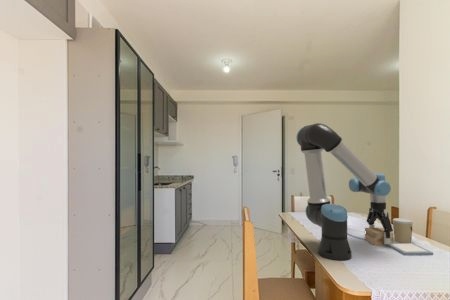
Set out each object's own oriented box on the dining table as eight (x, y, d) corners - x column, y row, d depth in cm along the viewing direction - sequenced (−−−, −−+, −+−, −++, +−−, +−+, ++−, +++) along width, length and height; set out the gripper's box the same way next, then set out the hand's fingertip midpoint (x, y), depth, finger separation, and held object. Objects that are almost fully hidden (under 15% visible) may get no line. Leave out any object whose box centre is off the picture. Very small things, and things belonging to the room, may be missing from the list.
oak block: (375, 246, 142) (374, 232, 142) (365, 240, 152) (364, 227, 152) (393, 245, 142) (393, 232, 142) (382, 239, 152) (382, 227, 152)
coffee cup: (416, 245, 142) (416, 222, 143) (397, 243, 144) (396, 221, 144) (408, 239, 151) (407, 218, 152) (390, 238, 153) (389, 217, 154)
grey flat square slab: (404, 255, 128) (404, 252, 128) (386, 245, 142) (386, 243, 142) (433, 255, 128) (433, 252, 128) (412, 245, 142) (412, 242, 142)
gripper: (400, 205, 135) (401, 247, 134) (371, 197, 160) (373, 233, 159) (385, 206, 135) (386, 247, 134) (359, 198, 160) (360, 233, 159)
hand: (379, 240), depth 147 cm, fingers open, 13 cm apart
